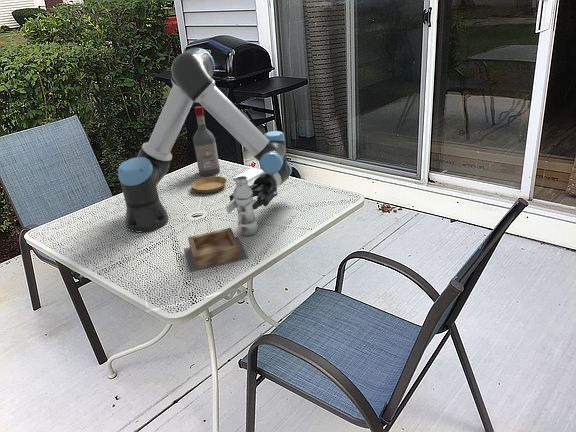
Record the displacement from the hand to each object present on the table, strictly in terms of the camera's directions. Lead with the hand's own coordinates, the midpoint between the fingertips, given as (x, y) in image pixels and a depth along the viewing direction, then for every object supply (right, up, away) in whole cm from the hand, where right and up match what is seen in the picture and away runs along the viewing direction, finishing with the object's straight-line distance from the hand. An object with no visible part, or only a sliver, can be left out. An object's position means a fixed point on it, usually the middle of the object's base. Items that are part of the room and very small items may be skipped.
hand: (237, 210), depth 158 cm
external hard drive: (-1, +15, +60) cm, 61 cm away
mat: (-7, -14, -2) cm, 16 cm away
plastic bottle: (+3, -8, +9) cm, 12 cm away
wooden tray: (-7, -14, -2) cm, 15 cm away
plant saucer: (-17, +10, +51) cm, 54 cm away
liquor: (-19, +18, +68) cm, 73 cm away
